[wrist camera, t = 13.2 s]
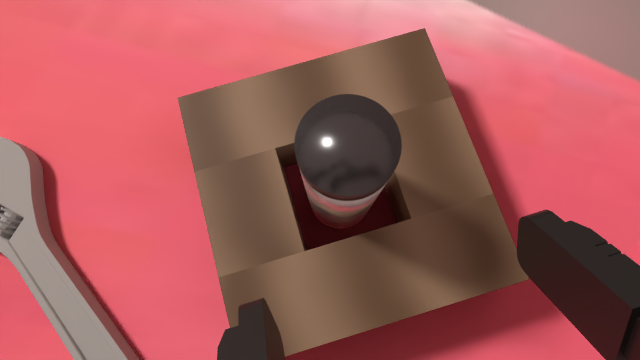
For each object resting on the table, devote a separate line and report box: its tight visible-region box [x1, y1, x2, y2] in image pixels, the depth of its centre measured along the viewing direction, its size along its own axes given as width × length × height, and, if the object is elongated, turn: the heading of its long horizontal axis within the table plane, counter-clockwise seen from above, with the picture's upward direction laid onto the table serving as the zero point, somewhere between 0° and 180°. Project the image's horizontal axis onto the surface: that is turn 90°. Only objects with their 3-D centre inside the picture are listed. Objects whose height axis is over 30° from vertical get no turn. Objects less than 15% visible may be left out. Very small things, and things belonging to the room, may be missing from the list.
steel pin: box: [294, 94, 402, 228], centre depth 19 cm, size 4×4×11 cm
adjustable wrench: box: [0, 137, 140, 360], centre depth 23 cm, size 25×6×2 cm, turn 36°
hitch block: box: [178, 28, 529, 356], centre depth 23 cm, size 15×15×4 cm
